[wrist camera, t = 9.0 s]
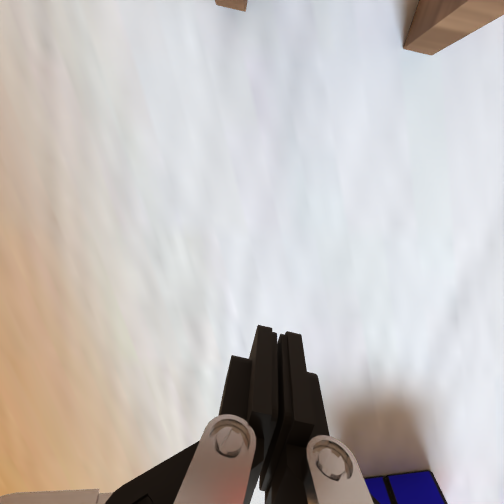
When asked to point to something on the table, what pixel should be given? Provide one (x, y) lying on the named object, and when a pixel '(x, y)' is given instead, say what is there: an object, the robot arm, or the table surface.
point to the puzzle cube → (406, 489)
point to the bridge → (434, 21)
